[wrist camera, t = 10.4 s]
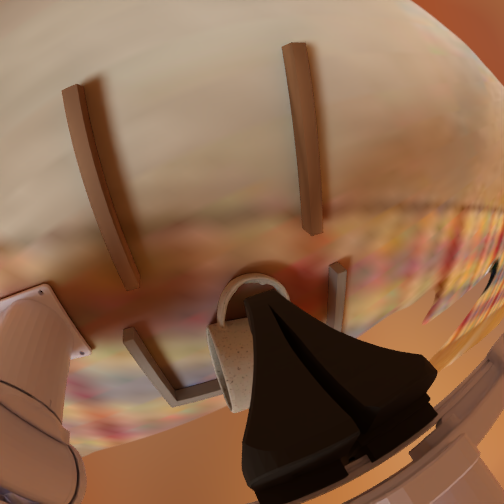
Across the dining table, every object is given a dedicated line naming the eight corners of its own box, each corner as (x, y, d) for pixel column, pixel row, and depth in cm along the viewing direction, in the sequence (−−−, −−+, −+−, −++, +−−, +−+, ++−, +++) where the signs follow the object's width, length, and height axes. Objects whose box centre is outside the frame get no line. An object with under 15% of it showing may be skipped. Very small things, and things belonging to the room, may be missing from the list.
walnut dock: (128, 279, 19) (126, 291, 17) (69, 92, 12) (61, 90, 10) (313, 225, 22) (322, 232, 20) (294, 47, 14) (305, 42, 13)
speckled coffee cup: (287, 344, 28) (320, 399, 21) (212, 364, 26) (232, 428, 19) (292, 258, 23) (342, 313, 16) (194, 278, 21) (214, 350, 14)
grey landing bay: (170, 396, 27) (171, 407, 25) (123, 329, 21) (122, 341, 19) (332, 341, 30) (338, 349, 29) (337, 262, 24) (346, 270, 23)
